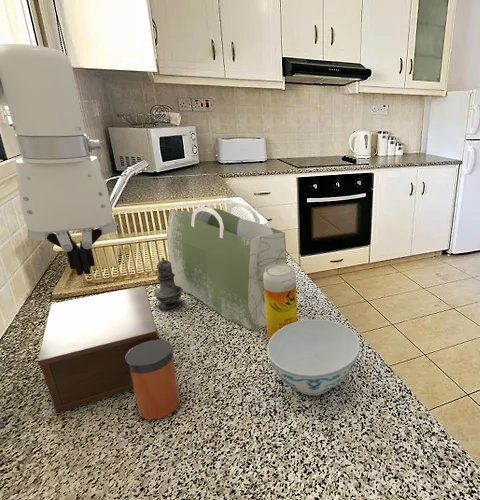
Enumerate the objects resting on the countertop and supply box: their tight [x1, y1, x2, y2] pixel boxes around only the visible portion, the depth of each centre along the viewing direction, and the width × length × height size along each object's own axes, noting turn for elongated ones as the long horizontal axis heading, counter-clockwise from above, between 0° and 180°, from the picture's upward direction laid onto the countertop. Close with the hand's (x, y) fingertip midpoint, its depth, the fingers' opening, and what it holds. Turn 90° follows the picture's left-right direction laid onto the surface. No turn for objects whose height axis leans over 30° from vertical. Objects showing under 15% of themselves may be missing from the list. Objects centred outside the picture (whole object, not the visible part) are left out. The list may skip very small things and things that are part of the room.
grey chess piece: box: [153, 257, 184, 312], centre depth 84 cm, size 6×6×12 cm
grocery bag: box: [166, 201, 287, 332], centre depth 86 cm, size 32×14×23 cm, turn 53°
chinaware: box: [266, 318, 361, 396], centre depth 62 cm, size 15×15×8 cm
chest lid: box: [36, 285, 158, 367], centre depth 63 cm, size 19×15×1 cm
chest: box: [40, 334, 159, 414], centre depth 65 cm, size 18×15×9 cm
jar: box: [125, 339, 181, 421], centre depth 56 cm, size 6×6×10 cm
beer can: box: [263, 263, 298, 340], centre depth 73 cm, size 6×6×15 cm
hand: (84, 271), depth 57 cm, fingers closed
